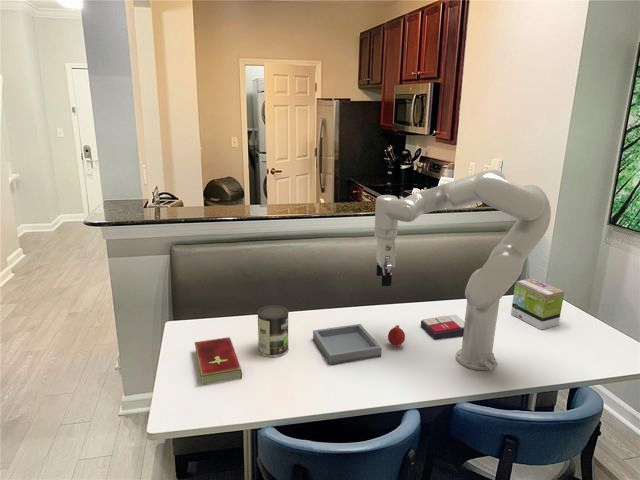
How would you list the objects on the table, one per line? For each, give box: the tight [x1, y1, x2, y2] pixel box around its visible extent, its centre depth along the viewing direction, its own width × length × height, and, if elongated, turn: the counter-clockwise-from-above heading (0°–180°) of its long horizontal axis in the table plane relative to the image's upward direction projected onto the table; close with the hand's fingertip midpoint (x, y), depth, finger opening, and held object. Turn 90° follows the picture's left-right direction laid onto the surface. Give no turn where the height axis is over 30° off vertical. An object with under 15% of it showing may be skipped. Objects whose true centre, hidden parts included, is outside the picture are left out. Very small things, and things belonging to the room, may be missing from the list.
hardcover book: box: [194, 336, 243, 386], centre depth 148 cm, size 12×21×4 cm, turn 20°
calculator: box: [420, 314, 465, 341], centre depth 173 cm, size 11×4×15 cm
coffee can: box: [256, 305, 290, 358], centre depth 156 cm, size 10×10×14 cm
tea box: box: [510, 277, 565, 331], centre depth 181 cm, size 15×10×15 cm, turn 25°
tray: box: [312, 323, 382, 366], centre depth 159 cm, size 18×18×4 cm
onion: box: [387, 324, 406, 347], centre depth 160 cm, size 6×6×8 cm
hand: (383, 280), depth 160 cm, fingers open, 9 cm apart
